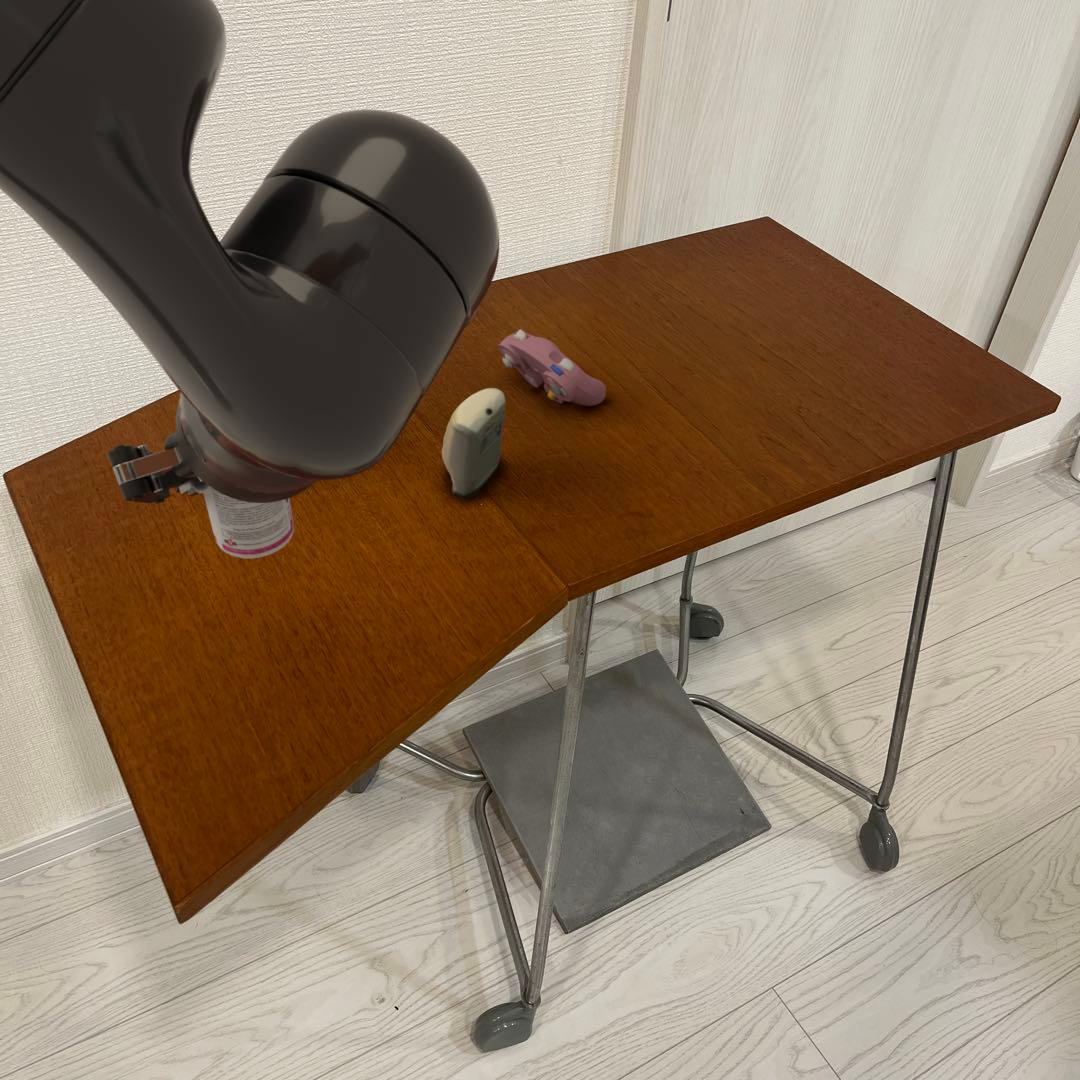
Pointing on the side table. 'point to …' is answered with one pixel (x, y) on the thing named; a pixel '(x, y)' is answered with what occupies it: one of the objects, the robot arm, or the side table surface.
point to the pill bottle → (249, 525)
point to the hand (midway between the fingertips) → (234, 464)
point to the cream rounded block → (474, 441)
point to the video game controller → (550, 369)
